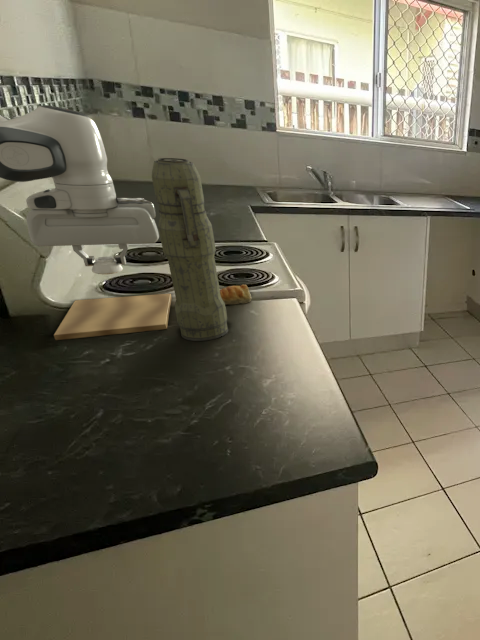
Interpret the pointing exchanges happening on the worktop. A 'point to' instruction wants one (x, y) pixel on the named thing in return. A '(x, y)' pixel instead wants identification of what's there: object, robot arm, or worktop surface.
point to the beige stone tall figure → (189, 249)
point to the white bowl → (106, 266)
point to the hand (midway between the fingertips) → (106, 264)
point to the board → (115, 316)
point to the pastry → (235, 295)
